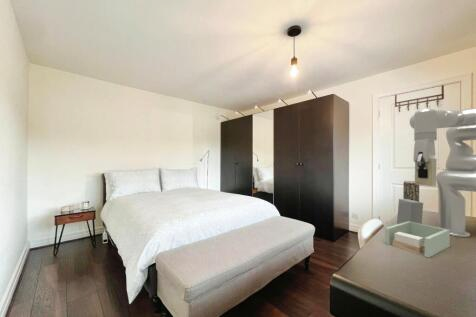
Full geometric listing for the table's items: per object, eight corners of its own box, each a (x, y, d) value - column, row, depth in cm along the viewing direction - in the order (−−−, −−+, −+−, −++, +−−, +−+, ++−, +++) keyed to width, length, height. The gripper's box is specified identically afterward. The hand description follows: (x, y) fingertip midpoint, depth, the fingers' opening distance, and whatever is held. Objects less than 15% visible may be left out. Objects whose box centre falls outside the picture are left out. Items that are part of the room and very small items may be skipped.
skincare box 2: (414, 184, 95) (414, 158, 95) (420, 184, 96) (419, 158, 96) (431, 186, 89) (431, 158, 89) (437, 185, 90) (436, 158, 90)
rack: (408, 235, 100) (408, 221, 100) (449, 246, 87) (449, 229, 88) (385, 243, 89) (385, 227, 89) (428, 257, 77) (428, 238, 77)
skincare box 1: (396, 227, 112) (396, 198, 112) (408, 227, 112) (408, 198, 112) (410, 233, 103) (410, 201, 103) (423, 233, 104) (423, 201, 104)
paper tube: (422, 228, 111) (422, 182, 112) (407, 227, 113) (408, 181, 113) (414, 224, 118) (414, 181, 118) (400, 223, 119) (400, 180, 120)
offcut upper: (399, 238, 89) (399, 231, 89) (423, 244, 82) (423, 237, 83) (394, 240, 87) (394, 233, 87) (418, 247, 80) (418, 239, 80)
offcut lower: (398, 244, 90) (398, 237, 90) (425, 252, 82) (425, 245, 82) (392, 246, 87) (392, 239, 87) (419, 255, 79) (419, 247, 79)
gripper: (422, 139, 100) (422, 176, 100) (406, 137, 92) (406, 178, 92) (443, 137, 94) (443, 177, 94) (428, 135, 85) (428, 179, 85)
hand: (425, 177), depth 93 cm, fingers closed on skincare box 2, 4 cm apart
